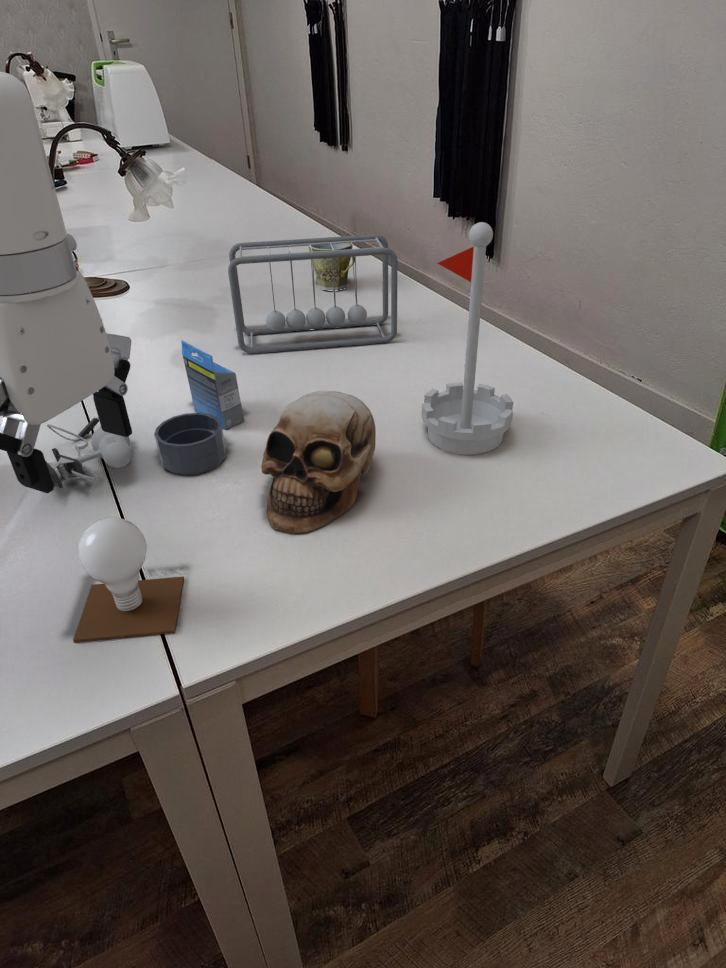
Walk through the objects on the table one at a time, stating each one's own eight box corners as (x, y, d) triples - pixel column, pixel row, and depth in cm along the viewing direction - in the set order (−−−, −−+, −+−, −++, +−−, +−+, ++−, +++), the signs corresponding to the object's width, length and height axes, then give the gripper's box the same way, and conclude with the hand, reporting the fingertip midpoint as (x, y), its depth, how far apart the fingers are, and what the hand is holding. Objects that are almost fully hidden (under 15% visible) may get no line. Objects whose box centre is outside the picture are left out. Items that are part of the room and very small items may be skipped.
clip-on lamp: (48, 463, 98) (55, 502, 83) (29, 424, 95) (34, 458, 80) (125, 435, 102) (145, 468, 87) (109, 398, 99) (128, 425, 84)
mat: (73, 642, 65) (72, 640, 65) (92, 587, 72) (91, 584, 72) (175, 633, 66) (174, 630, 66) (184, 578, 73) (183, 576, 72)
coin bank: (271, 538, 78) (261, 435, 71) (257, 473, 92) (248, 383, 86) (397, 520, 81) (399, 420, 74) (365, 460, 95) (364, 372, 89)
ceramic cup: (302, 287, 153) (299, 243, 147) (335, 277, 158) (333, 235, 153) (338, 300, 145) (336, 255, 139) (371, 290, 150) (370, 245, 145)
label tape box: (245, 421, 101) (234, 347, 94) (223, 431, 99) (211, 356, 92) (213, 403, 106) (201, 331, 99) (192, 412, 104) (177, 339, 97)
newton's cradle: (387, 323, 133) (387, 232, 123) (397, 342, 125) (398, 247, 115) (240, 334, 130) (227, 243, 120) (239, 355, 122) (226, 259, 112)
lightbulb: (173, 604, 69) (151, 523, 62) (118, 638, 65) (89, 555, 59) (141, 576, 72) (117, 497, 66) (88, 607, 69) (57, 526, 62)
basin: (157, 479, 89) (149, 448, 86) (166, 444, 96) (159, 415, 93) (224, 474, 89) (218, 443, 87) (228, 440, 97) (223, 410, 94)
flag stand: (511, 417, 100) (536, 211, 83) (508, 462, 90) (537, 238, 73) (426, 410, 103) (434, 208, 86) (415, 454, 92) (421, 234, 75)
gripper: (68, 233, 56) (114, 408, 66) (-125, 297, 43) (-32, 502, 53) (137, 242, 54) (174, 422, 64) (-45, 313, 41) (36, 525, 51)
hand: (80, 458), depth 58 cm, fingers open, 9 cm apart
